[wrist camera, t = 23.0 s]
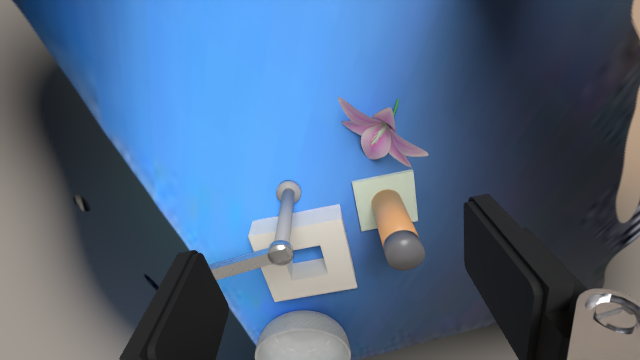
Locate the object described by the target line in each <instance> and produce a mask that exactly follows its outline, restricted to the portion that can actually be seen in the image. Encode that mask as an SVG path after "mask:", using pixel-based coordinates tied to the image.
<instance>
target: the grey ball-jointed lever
mask: <svg viewBox="0 0 640 360" xmlns="http://www.w3.org/2000/svg"><path fill="white" fill-rule="evenodd" d="M292 259H293V247H292V245H291V244H290V243H289V242H287V241H283V240H278V241H274V242H273V243H271V244H270V246H269V248H266V249H262V250H259V251H255V252H252V253H248V254H245V255H241V256H238V257H235V258H231V259H228V260H224V261H221V262H217V263H214V264H211V265H209V267H210V269H211V271H212V273H213V275H214V277H215V279H216V280H218V279H222V278H225V277H229V276H232V275H236V274H239V273H243V272H246V271H250V270H254V269H257V268H261V267H264V266H268V265H271V264H275V265H279V266H282V265H287V264H288V263H290V262H291V261H292Z"/></svg>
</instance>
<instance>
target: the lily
mask: <svg viewBox="0 0 640 360" xmlns="http://www.w3.org/2000/svg"><path fill="white" fill-rule="evenodd" d="M338 100H339V103H340V105H341V107H342V109H343V111H344V112H345V114H346V115H347V117H348V118H349V119H350V120H351V121H342V123H343V124H344V125H345V126H346V127H347V128H349V129H350V130H352V131H354V132H355V133H357V134H359V135H361V136H362V137H361V146H362V149H363V151H364V153H365V155H366V156H367V157H368V158H369V159H379V158H382V157H384V156H385V155H387V153H389V154H390V155H391V156H393V157H394V158H395V159H397V160H398V161H400V162H401V163H403V164H404V165H406V166H408V167H411V165H410V163H409V161H408V159H407V158H406V156H412V157H424V156H428V155H429V154H428V153H427V152H426V151H424V150H422V149H421V148H419V147H417V146H415V145H413V144H411V143H409V142H408V141H406V140H404V139H403V138H401V137H400V136H398V135H397V134H396V128H395V121H394V115H395V112H396V110H397V106H398V102H399V99H397V101H396V105H395V109H394V111H392V109H391V108H386V109H383V110H381V111H379V112H378V113H376V114H374V115H373V116H372V117H373V118H371V117H369V116H367V115H365V114H363V113H362V112H360V111H359V110H357V109H356V108H354V107H353V106H352V105H350V104H349V103H348V102H346V101H345V100H343V99H342V98H340V97H338ZM374 118H376V119H374ZM405 155H406V156H405Z"/></svg>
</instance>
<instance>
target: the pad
mask: <svg viewBox="0 0 640 360" xmlns="http://www.w3.org/2000/svg"><path fill="white" fill-rule="evenodd" d="M352 185H353V190H354V195H355V201H356V206H357V211H358V216H359V221H360V226H361V231H366V230H372V229H377V228H378V227H377V224H376V220H375V216H374V213H373V209H372V205H371V202H372V199H373V197H374V196H375V195H376V194H377V193H378V192H380V191H382V190H388V189H389V190H394V191H396V192H397V193H399V195H400V196H401V198H402V201H403V203H404V205H405V207H406V210H407V212H408V214H409V216H410V218H411V221H412V222H415V221H418V215H417V205H416V194H415V183H414V172H413V169H410V170H405V171H400V172H395V173H390V174H385V175H380V176H375V177H370V178H365V179H360V180H355V181H352Z"/></svg>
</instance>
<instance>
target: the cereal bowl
mask: <svg viewBox="0 0 640 360" xmlns="http://www.w3.org/2000/svg"><path fill="white" fill-rule="evenodd" d="M350 359H351V351H350V345H349V341H348V338H347V336H346V333H345V332H344V330H343V328H342V327H341V326H340V325H339V324H338V323H337V322H336V321H335V320H334V319H332V318H331V317H329V316H327V315H325V314H322V313H320V312H316V311H309V310H299V311H292V312H288V313H285V314H283V315H280V316H279V317H276V318H275V319H273V320H272V321H271V322H270V323H269V324H267V326H266V327H265V328H264V330H263V331H262V333H261V335H260V337H259V339H258V342H257V345H256V350H255V360H350Z"/></svg>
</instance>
